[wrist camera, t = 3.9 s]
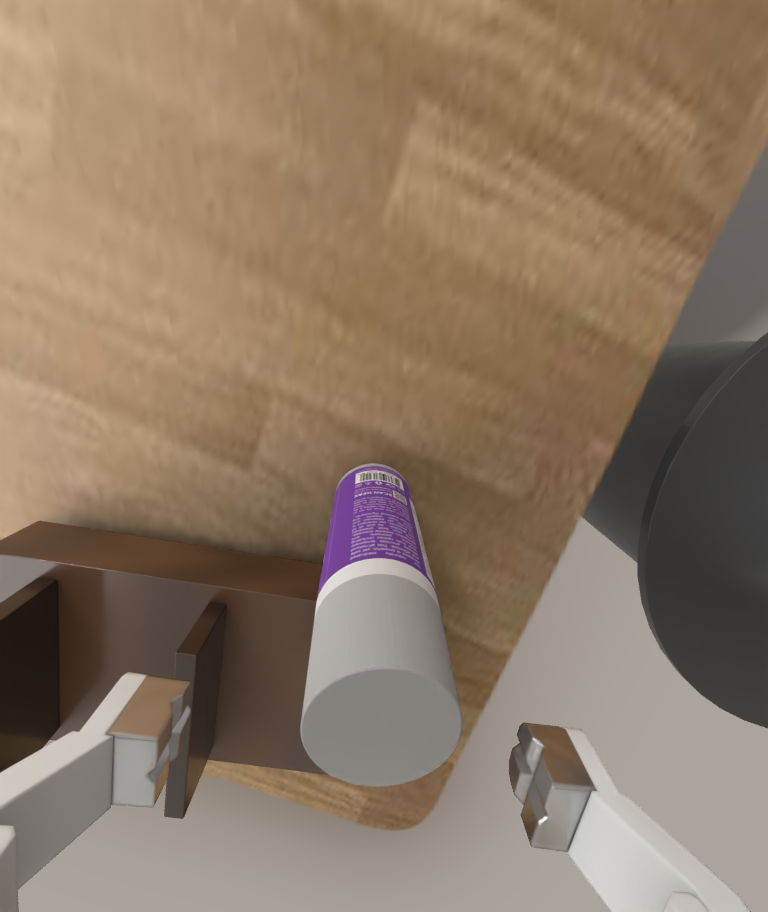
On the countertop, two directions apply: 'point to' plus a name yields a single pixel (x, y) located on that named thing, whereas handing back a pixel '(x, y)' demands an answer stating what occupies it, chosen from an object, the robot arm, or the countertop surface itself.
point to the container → (378, 643)
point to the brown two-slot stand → (155, 643)
